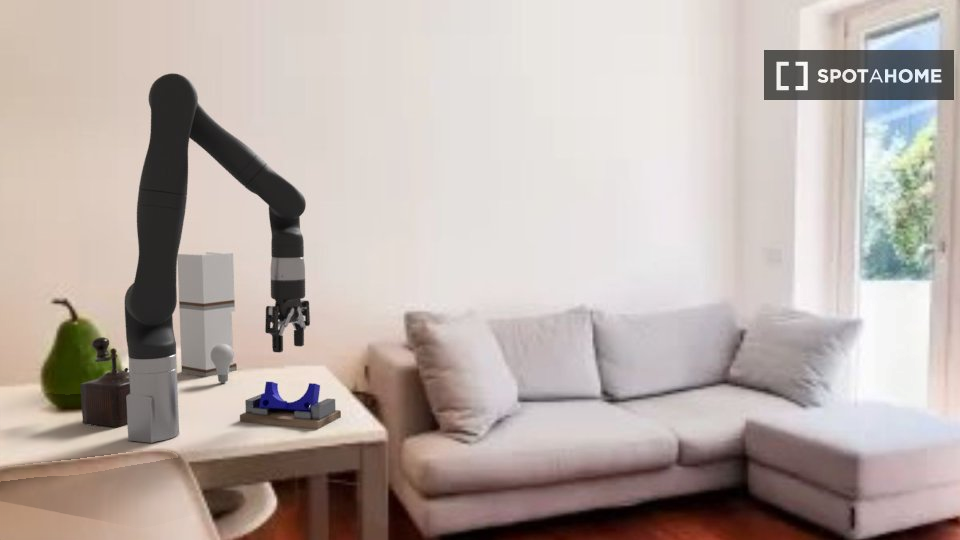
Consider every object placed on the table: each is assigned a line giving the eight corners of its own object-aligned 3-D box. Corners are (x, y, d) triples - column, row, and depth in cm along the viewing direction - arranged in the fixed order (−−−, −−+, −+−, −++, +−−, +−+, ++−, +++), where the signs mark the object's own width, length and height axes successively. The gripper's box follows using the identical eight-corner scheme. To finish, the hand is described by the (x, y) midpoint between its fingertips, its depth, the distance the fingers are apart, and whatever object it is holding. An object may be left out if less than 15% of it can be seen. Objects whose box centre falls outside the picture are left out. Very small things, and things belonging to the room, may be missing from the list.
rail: (318, 428, 164) (317, 408, 164) (240, 421, 170) (239, 401, 170) (340, 417, 174) (340, 397, 173) (265, 410, 180) (265, 391, 180)
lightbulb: (210, 382, 210) (209, 343, 209) (233, 380, 213) (232, 341, 212) (212, 386, 205) (211, 346, 204) (236, 384, 207) (234, 344, 206)
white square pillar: (236, 370, 226) (233, 253, 223) (206, 377, 217) (202, 255, 214) (212, 366, 232) (208, 252, 229) (181, 372, 223) (177, 254, 220)
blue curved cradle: (259, 407, 171) (263, 380, 172) (268, 409, 175) (271, 383, 177) (309, 409, 168) (312, 382, 170) (317, 411, 173) (320, 385, 174)
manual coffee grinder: (154, 415, 176) (151, 339, 174) (115, 428, 165) (112, 347, 164) (104, 409, 181) (101, 335, 180) (64, 421, 171) (60, 343, 170)
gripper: (284, 280, 162) (285, 355, 163) (319, 275, 175) (319, 345, 176) (254, 279, 164) (255, 353, 165) (291, 274, 178) (291, 343, 179)
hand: (288, 349), depth 171 cm, fingers open, 8 cm apart
